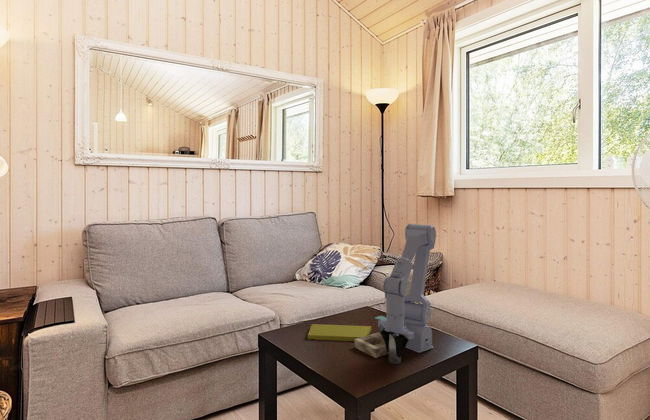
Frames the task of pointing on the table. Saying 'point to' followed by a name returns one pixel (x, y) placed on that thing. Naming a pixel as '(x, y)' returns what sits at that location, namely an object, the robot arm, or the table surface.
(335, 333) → the flat olive board
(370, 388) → the table surface
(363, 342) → the socket block
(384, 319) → the teal block
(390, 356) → the peg
